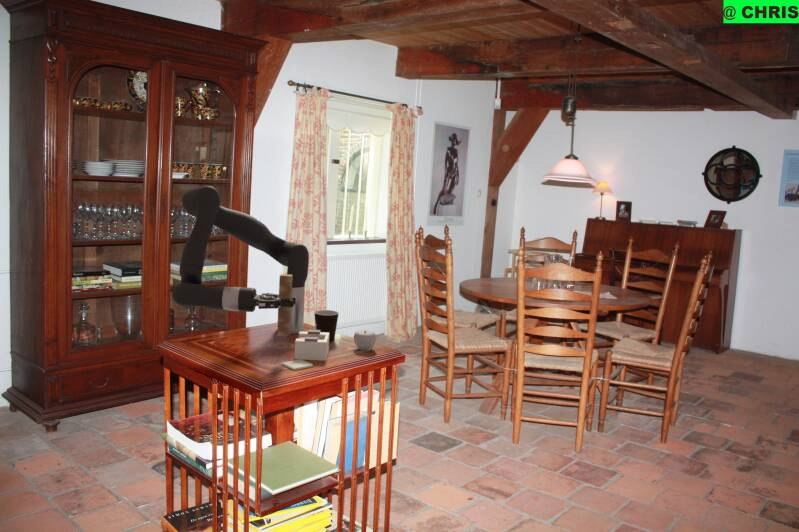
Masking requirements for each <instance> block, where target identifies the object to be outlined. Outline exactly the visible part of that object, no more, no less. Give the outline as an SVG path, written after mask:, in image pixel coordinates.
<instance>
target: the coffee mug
mask: <svg viewBox="0 0 799 532" xmlns="http://www.w3.org/2000/svg"><path fill="white" fill-rule="evenodd" d="M338 319H339V312H338V311H335V310H331V309H318V310H315V311H314V323H315V324H314V325H315V330H321V332H327V333H329V343H331V342H334V341H335V338H336V331H337V326H338Z"/></svg>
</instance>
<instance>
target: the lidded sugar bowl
mask: <svg viewBox="0 0 799 532" xmlns="http://www.w3.org/2000/svg"><path fill="white" fill-rule="evenodd" d="M376 341H377V336H376V334H375V332H374V331H372V330H358V331H355V332H354V335H353V342H354V344H355V346H356V348H357V349H358V350H359V349H360V350H359V351H370V350H371V349H373V347H374V346H375V345H376ZM369 349H370V350H369Z"/></svg>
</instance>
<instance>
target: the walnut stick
mask: <svg viewBox="0 0 799 532" xmlns="http://www.w3.org/2000/svg"><path fill="white" fill-rule="evenodd" d="M292 280H293V275H290V274H287V273H281V274H280V275H279V282H278V283H279V285H278V287H279V288H278V294H279V298H278V299H281V301H282V299H285V300H292ZM277 326H278V329H277V335H276V336H278V337H289V336H290V335H291V333H290V328H291V307H280V308H277Z"/></svg>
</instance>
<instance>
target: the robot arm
mask: <svg viewBox="0 0 799 532" xmlns="http://www.w3.org/2000/svg"><path fill="white" fill-rule="evenodd" d="M221 199H222V198H221V194H220V193H219V191H218V190H217V189H216V188H215V187H214V186H211V185H203V186H199V187H196V188H191V189H190V190H188V191H186V192H185V193H184V194H183V195H182V198H181V203H182V204H181V205H182V206H183V209H184V210H185V212H187V213H188V214H189V215H190V216H191V217H194V218H196V219H195V223H194V225H193V227H192V230H191V232H190V234H189V236H188V237H187V238H188V239H187V240H186V242H185V244H184V247H183V249H182V253H181V257H180V264H179V268H178V269H179V271H178V273H179V275H180V283H179V284H177V285H175V287H174V288H173V289H172V292H171V298H172V299H173V301H174V303H176V305H178V306H180V307H181V308H183V309H185V310H192V309H194V308H195V307H205V308H207V309H213V310H222V311H223V310H225V311H230V312H247V313H248V312H249V313H253V312H255V310H256V307H258V309H259V310H263V309H264V310H267V309H275V310H278V308H280V307H291V328H290V334H299V332H300V331H304V320H305V319H304V317H305V292H306V291H305V290H306V289H305V287H306V281H307V278H308V272H309V262H310V256H309V255H310V252H309V249H308V247H306V245H304V244H303V243H302V244H301V243H297V242H293V241H292V242H291V241H288V240H285V239H283V238H281V237H278V236H276V235H275V234H273V233H272V232H271V231H270V229H269V228H268V226H266V224H264V223H263V222H262V221H261V220H258V219H257V218H255V217H254V216H252V215H250V214H247V213H245V212H242V211H239V210H235V209H230V208H227V207H224V206H222V205H221ZM214 226H215V227H217V228H218V229H220V230H222V231H224V232H225V233H227V234H228V235H230V236H232V237H234V238H236V239H237V240H239V241H241V242H242V243H244V244H245V245H248V246H250V247H252V248H254V249H256V250H258V251H262V252H263V253H264V254H267V255H268V256H269V257H271V259H273V260H275V261H276V262H277V263H278V264H280V265H281V266H283V267H287V271H286V274H290V275H293V280H292V300H285V299H282V301H281V299H279V293H278V294H277V293H269V292H266V293H261V294H257V290H256V288H255V287H242V286H207V285H202V284H203V283H202V282H203V281H202V275H203V271H204V266H205V265H204V264H205V259H206V253H207V248H208V244H209V242H210V241H209V240H210V237H211V233H212V231H213V228H214ZM276 329H277V330H278V325H277V328H276Z"/></svg>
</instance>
